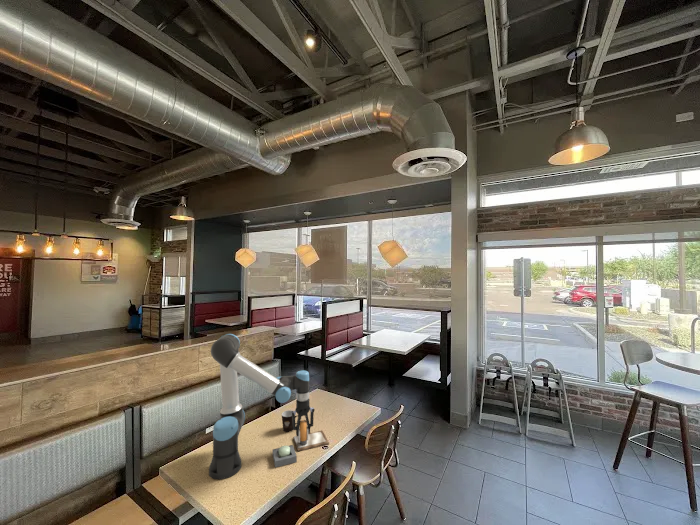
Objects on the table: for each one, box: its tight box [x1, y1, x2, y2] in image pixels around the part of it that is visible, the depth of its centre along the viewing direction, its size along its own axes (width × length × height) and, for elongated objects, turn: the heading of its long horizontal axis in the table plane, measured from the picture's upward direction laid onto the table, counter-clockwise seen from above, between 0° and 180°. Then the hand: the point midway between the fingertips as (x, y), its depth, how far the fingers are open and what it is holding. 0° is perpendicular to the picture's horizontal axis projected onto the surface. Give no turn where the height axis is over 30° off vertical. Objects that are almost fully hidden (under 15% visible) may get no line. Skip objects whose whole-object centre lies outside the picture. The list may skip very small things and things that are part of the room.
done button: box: [278, 445, 290, 458], centre depth 154 cm, size 6×6×3 cm
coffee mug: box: [281, 409, 298, 433], centre depth 182 cm, size 12×9×10 cm
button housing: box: [272, 444, 298, 468], centre depth 154 cm, size 11×11×3 cm
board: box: [293, 430, 330, 452], centre depth 169 cm, size 18×14×2 cm
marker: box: [299, 419, 307, 445], centre depth 165 cm, size 4×4×12 cm
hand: (303, 440), depth 165 cm, fingers closed on marker, 4 cm apart
